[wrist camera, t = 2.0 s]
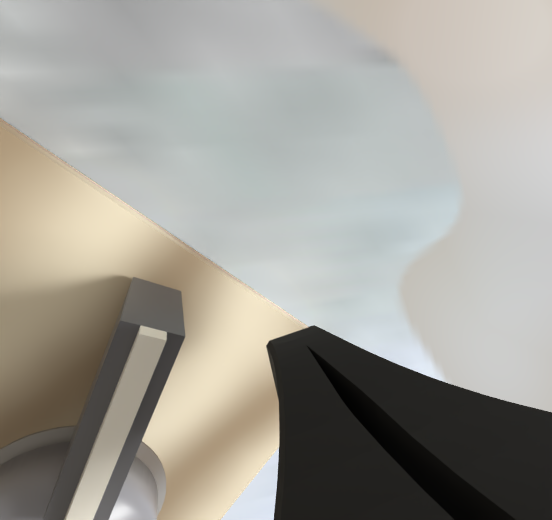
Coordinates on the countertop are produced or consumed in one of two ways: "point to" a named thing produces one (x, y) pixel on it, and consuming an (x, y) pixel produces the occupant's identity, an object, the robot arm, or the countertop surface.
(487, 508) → the robot arm
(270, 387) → the tuner board
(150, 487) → the peg dial
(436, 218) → the countertop surface
